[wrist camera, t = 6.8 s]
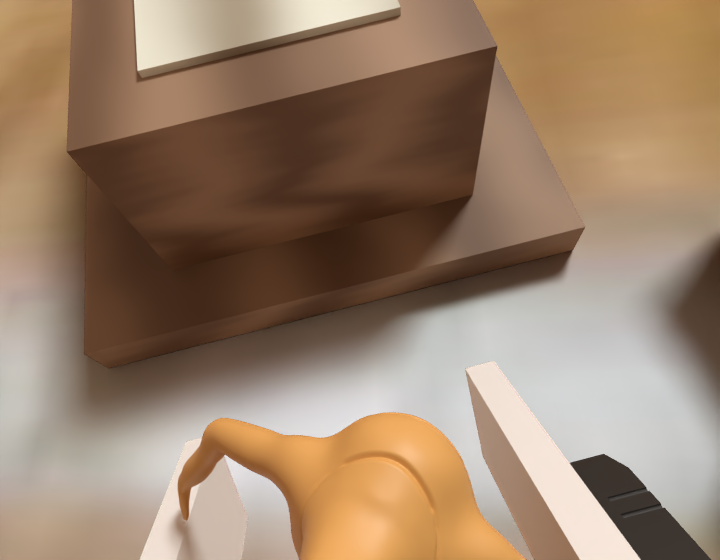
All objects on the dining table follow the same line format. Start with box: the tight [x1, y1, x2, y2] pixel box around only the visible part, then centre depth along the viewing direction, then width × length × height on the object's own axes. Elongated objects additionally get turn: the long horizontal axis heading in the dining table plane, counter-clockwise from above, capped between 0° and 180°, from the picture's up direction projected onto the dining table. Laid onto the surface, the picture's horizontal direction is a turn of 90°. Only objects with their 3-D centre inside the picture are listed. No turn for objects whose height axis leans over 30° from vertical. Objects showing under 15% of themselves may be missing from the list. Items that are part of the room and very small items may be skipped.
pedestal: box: [67, 0, 585, 368], centre depth 25 cm, size 22×22×10 cm
